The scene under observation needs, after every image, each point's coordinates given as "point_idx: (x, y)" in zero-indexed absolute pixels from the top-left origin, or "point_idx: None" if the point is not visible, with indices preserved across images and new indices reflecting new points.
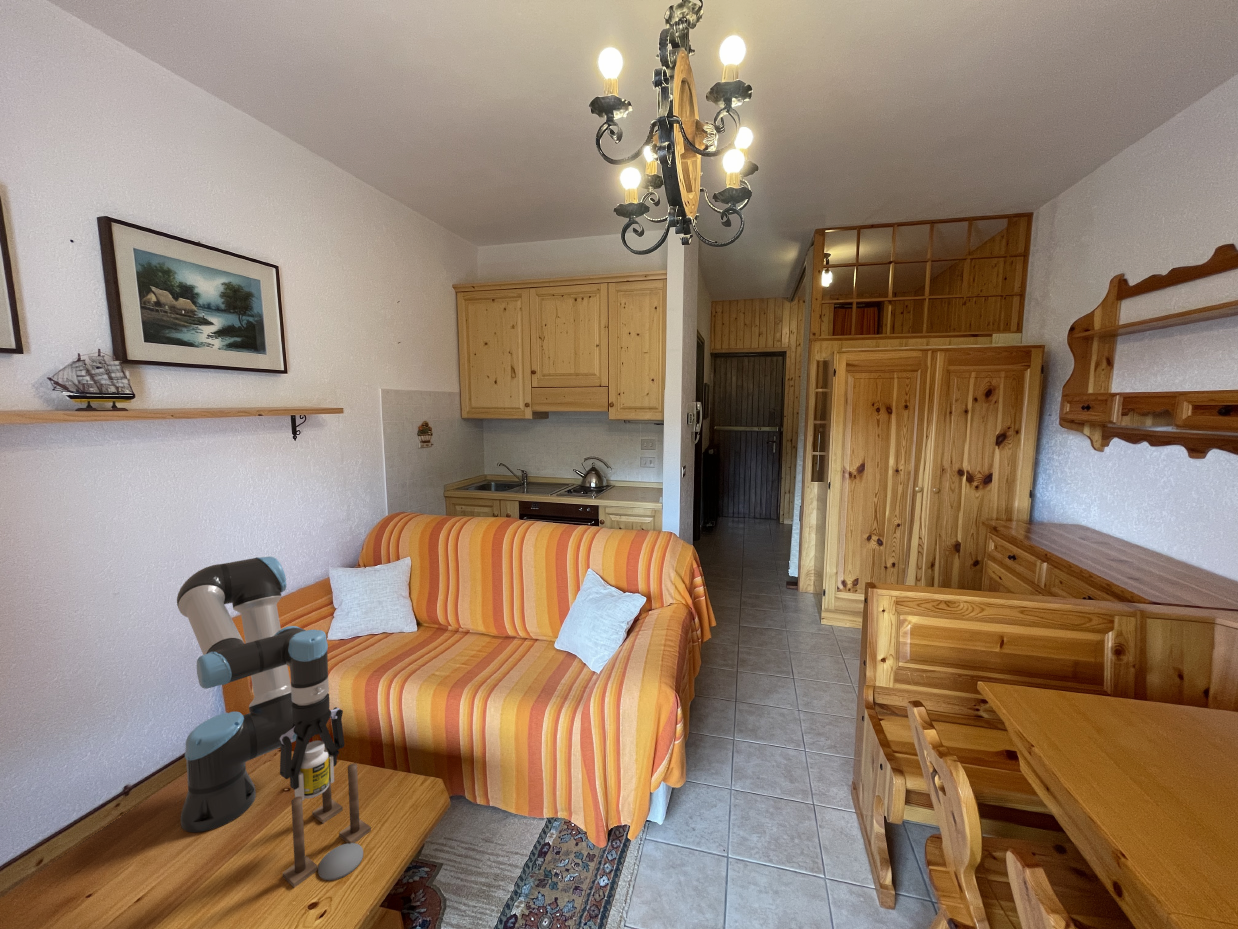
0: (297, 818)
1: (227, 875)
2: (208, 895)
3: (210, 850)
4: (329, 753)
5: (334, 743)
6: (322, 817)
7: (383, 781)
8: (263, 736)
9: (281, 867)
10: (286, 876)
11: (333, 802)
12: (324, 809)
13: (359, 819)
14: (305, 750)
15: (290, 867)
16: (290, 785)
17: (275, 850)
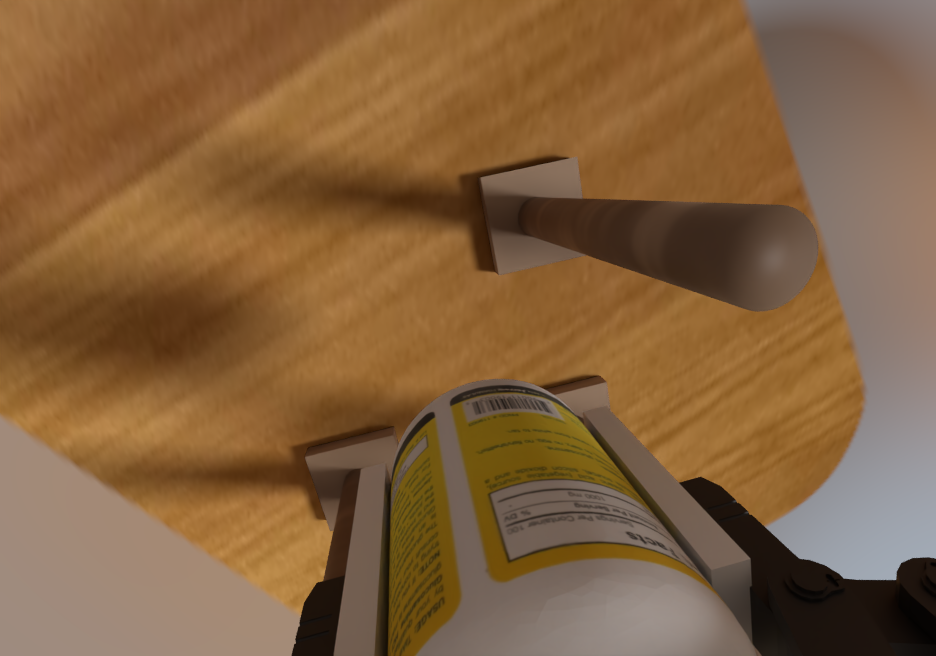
0: None
1: (119, 286)
2: (53, 345)
3: (30, 34)
4: (760, 620)
5: (922, 610)
6: (503, 258)
7: (781, 195)
8: None
9: (311, 398)
10: (314, 484)
11: (572, 190)
12: (524, 230)
13: (605, 387)
14: None
15: (333, 452)
16: (303, 614)
17: (304, 285)
